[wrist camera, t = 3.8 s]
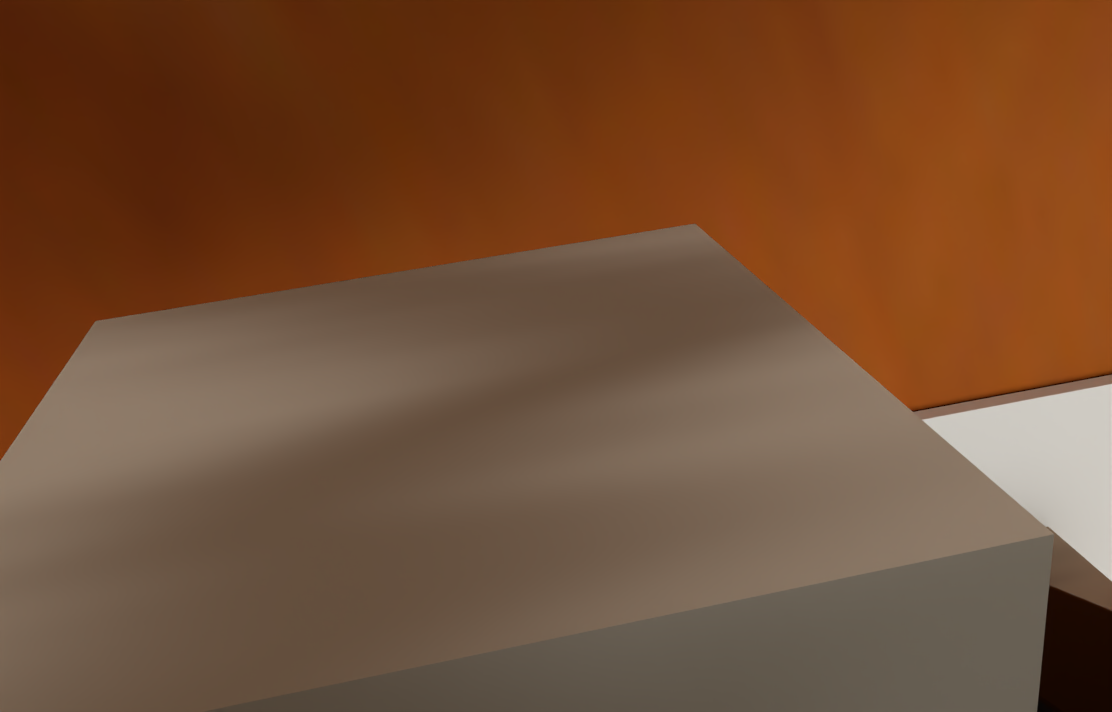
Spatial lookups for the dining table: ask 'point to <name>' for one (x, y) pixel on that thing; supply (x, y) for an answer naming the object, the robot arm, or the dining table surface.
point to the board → (1045, 456)
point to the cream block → (505, 507)
